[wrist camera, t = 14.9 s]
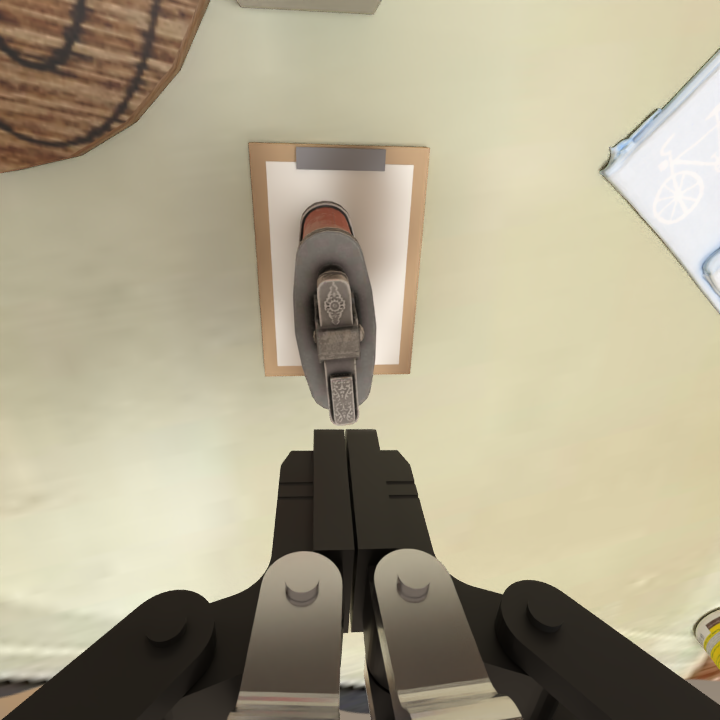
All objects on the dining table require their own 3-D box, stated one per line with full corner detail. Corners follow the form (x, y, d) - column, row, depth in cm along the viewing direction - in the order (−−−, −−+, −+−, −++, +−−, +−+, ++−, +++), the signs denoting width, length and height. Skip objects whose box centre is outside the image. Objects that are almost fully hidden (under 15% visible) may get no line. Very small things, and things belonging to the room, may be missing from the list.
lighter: (290, 202, 24) (277, 251, 15) (356, 198, 24) (380, 243, 15) (307, 344, 28) (304, 449, 19) (364, 339, 28) (387, 441, 19)
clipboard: (266, 370, 29) (264, 380, 28) (250, 142, 23) (247, 143, 22) (407, 367, 30) (411, 377, 29) (426, 147, 24) (432, 148, 23)
